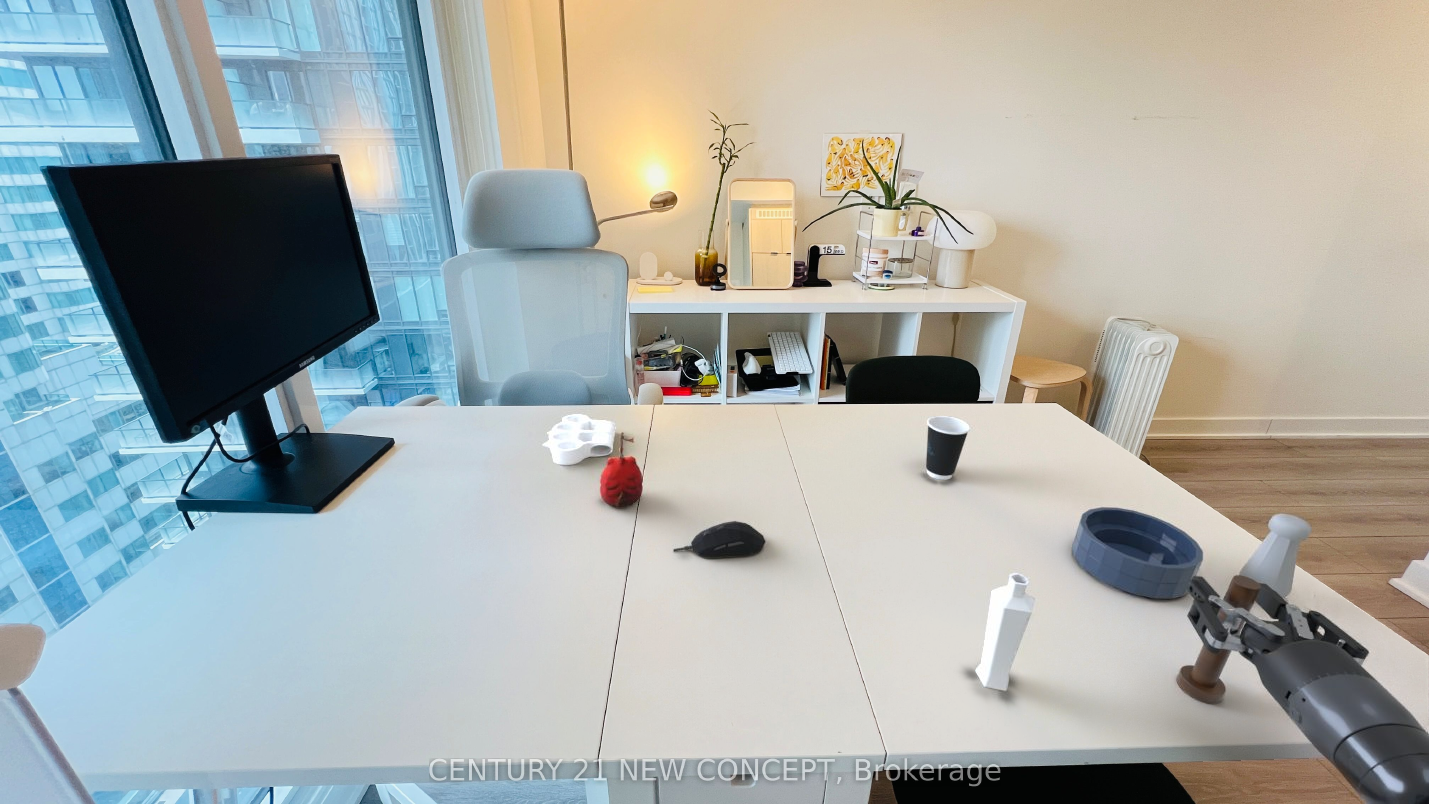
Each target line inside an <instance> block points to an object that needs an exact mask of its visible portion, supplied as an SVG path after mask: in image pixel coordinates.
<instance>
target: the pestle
mask: <svg viewBox="0 0 1429 804" xmlns="http://www.w3.org/2000/svg"><path fill="white" fill-rule="evenodd" d="M1260 589H1261V586H1260V584H1259V583H1258V582H1256V581H1255V580H1253V579H1251V578H1248V577H1245V576H1241V575H1239V574H1238V575H1237V574H1236V575H1233V576H1232V579H1231V581H1230V583H1229V586H1228V588H1227V590H1226V592H1225V595H1224V597H1223V599H1222V600H1224V601H1225V602H1227V603H1228V604H1230V605H1231V606H1233V607H1235V608H1238V607H1241V608H1244V609H1245V610H1247V611H1248V612H1250V613H1251V610H1252V608H1253V606H1254V604H1255V603H1256V602H1255V599H1256V597H1257V595H1258V593H1259V591H1260ZM1218 615H1219V616H1220V617H1222V618H1223V619H1225V620H1226V617H1227V615H1226V613H1224V612H1223V611H1221V610H1219V613H1218ZM1245 623H1246V622H1245V621H1243V620H1241V623H1240V625H1239V627H1238V632H1239V633H1241V630H1242V628H1243V626H1244V624H1245ZM1202 644H1203V643H1202ZM1231 653H1232V650H1227V649H1222V650H1221V652H1220V654H1214V653H1212V652H1210V651H1208V650H1207V649H1206V647H1205V645H1204V644H1203V645H1202V647H1201V648H1200V651H1199V653H1198V656H1197V658H1196V661H1195V662H1194V665H1192V664H1187V665H1186V664H1185V665H1183V666H1182V667H1181V668H1180V669H1179V671H1178V672H1179V673H1178V674H1177V676H1176V683H1177V685H1178V686H1179V688H1180V689H1181V690H1182V691H1183V692H1184V693H1185V694H1186V695H1188V696H1189V697H1192V698H1193V699H1195V700H1197V701H1199V702H1201V703H1205V704H1211V705H1214V704H1215V705H1217V704H1218V703H1220V702H1221V701H1223V698H1224V696H1225V694H1226V691H1227V688H1226V687H1227V686H1226V685H1225V683H1224V682H1223V681H1222V680H1221V678H1220V677H1221V674H1222V673H1223V670H1224V668H1225V666H1226V664H1227V662H1228V661H1229V657H1230V655H1231Z"/></svg>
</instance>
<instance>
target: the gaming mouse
mask: <svg viewBox="0 0 1429 804" xmlns="http://www.w3.org/2000/svg"><path fill="white" fill-rule="evenodd" d="M765 544H766V539H765V536H764V534H763V533H761V532H760V531H758V530H757V529H756V528H754V527H753V526H752V525H750V524H749V523H746V522H741V521H737V520H733V521H727V522H722V523H719V524H715V525H713V526H711V527H708V528H706V529H704V530H702V531H700V532H699V533H697V535H695V536H694V537H693V539H692V541H691V542H690V545H684V546H683V547H678V548H673V549H672V550H673V552H679V551H689V550H693V552H695V553H696V555H698V556H699V557H703V558H706V559H716V558H717V559H719V558H735V557H736V558H737V557H738V558H739V557H748V556H751V555H755V554H758V553H759V552H760V551H762V549H763V548H764V545H765Z"/></svg>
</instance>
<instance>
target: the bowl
mask: <svg viewBox="0 0 1429 804" xmlns="http://www.w3.org/2000/svg"><path fill="white" fill-rule="evenodd" d="M1071 551H1072V554H1073V557H1074V559H1075V560H1076V561H1077V562H1078V563H1079V564H1080V566H1081V567H1082V568H1083V569H1084V570H1085V571H1087V572H1088V573H1089V574H1091V575H1092V576H1094V577H1095V578H1096V579H1098V580H1100V581H1102V582H1104V583H1106V584H1108V585H1110V586H1111V587H1113V588H1116V589H1119V590H1120V591H1121V590H1122V591H1124V592H1126V593H1130V594H1133V595H1137V596H1141V597H1147V598H1150V599H1169V600H1170V599H1176V598H1180V597H1183V596H1185V595H1186V594H1187V593H1188V591H1187V588H1188V586H1189V584H1190V581H1191V580H1192V578H1193V576H1198V573H1199V571H1200V568H1201V566H1202V563H1203V561H1204V551H1203V549H1202V548H1201V545H1200V544H1199V543H1198V542H1197V541H1196V540H1195V539H1194V538H1193V537H1191V536H1190V535H1189V534H1188V533H1187V532H1186V531H1184V530H1182V529H1181V528H1179V527H1177V526H1175V524H1172V523H1170V522H1168V521H1165V520H1163V519H1161V518H1159V517H1156V516H1153V515H1150V514H1147V513H1144V512H1140V511H1137V510H1134V509H1127V508H1122V507H1110V506H1109V507H1108V506H1101V507H1100V506H1099V507H1095V508H1090V509H1088V510H1086V511H1084V512H1083V513H1082V514H1081V517H1080V520H1079V522H1078V526H1077V530H1076V532H1075V536H1074V540H1073V543H1072V545H1071Z"/></svg>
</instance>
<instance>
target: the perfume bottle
mask: <svg viewBox="0 0 1429 804" xmlns="http://www.w3.org/2000/svg"><path fill="white" fill-rule="evenodd" d="M1008 578H1009V579H1008V583H1007V585H1003V586H1000V587H997V588H994V589H992V590H991V592H990V601H989V607H988V614H987V621H986V628H985V635H984V641H983V648H982V653H981V654H982V655H981V661H980V663H979V665H978V666H977V667H976V669H975V673H976V675H977V677H978V678H979V680H980V682H981V683H982V685H983V686H984V687H985V688H988V689H993V690H994V689H995V690H998V691H1003V692H1006V691H1007V690H1008V687H1009V682H1010V671H1011V668H1012V666H1013V663H1014V660H1015V658H1016V655H1017V653H1018V651H1019V648H1020V645H1021V642H1022V640H1023V637H1024V635H1025V632H1026V629H1027V626H1028V624H1029V622H1030V619H1031V616H1032V613H1033V611H1034V604H1035V600H1036V598H1035V597H1034V596H1033V595H1031V594H1029V593H1027V592H1026V590H1027V588H1028V586H1029V584H1030V578H1029V577H1027V576H1025V575H1023V574H1021V573H1020V572H1013V573H1011V574H1008Z"/></svg>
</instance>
